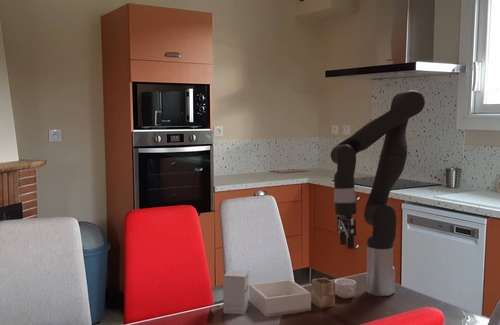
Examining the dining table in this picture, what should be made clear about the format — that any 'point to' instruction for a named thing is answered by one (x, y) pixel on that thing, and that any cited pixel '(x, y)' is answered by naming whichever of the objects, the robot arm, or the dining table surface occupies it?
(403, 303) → the dining table surface
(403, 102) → the robot arm
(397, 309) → the dining table surface
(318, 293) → the small wooden crate
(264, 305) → the big plastic crate
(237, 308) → the supplement box
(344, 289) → the teacup
